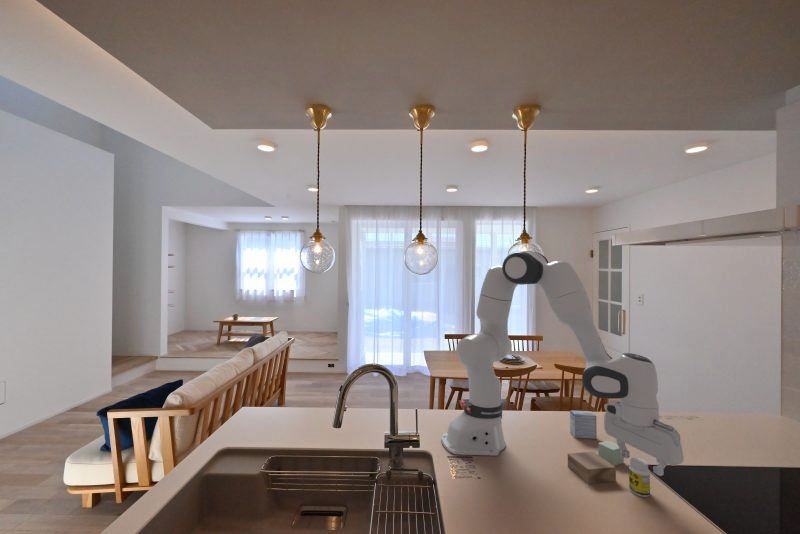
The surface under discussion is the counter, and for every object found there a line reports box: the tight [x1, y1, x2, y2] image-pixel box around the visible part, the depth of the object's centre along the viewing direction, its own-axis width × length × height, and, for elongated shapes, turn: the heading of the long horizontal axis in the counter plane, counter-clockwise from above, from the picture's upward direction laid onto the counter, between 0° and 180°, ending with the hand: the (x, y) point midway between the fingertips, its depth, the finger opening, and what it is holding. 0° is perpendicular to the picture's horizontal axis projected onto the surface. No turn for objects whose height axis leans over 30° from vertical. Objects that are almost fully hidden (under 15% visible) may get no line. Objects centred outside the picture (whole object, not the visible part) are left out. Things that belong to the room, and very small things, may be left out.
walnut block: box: [567, 451, 617, 485], centre depth 102 cm, size 9×9×4 cm
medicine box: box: [569, 410, 598, 440], centre depth 127 cm, size 8×4×9 cm, turn 84°
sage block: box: [597, 439, 625, 467], centre depth 110 cm, size 5×5×5 cm
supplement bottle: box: [628, 457, 651, 498], centre depth 94 cm, size 5×5×8 cm
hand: (641, 465), depth 93 cm, fingers open, 8 cm apart
